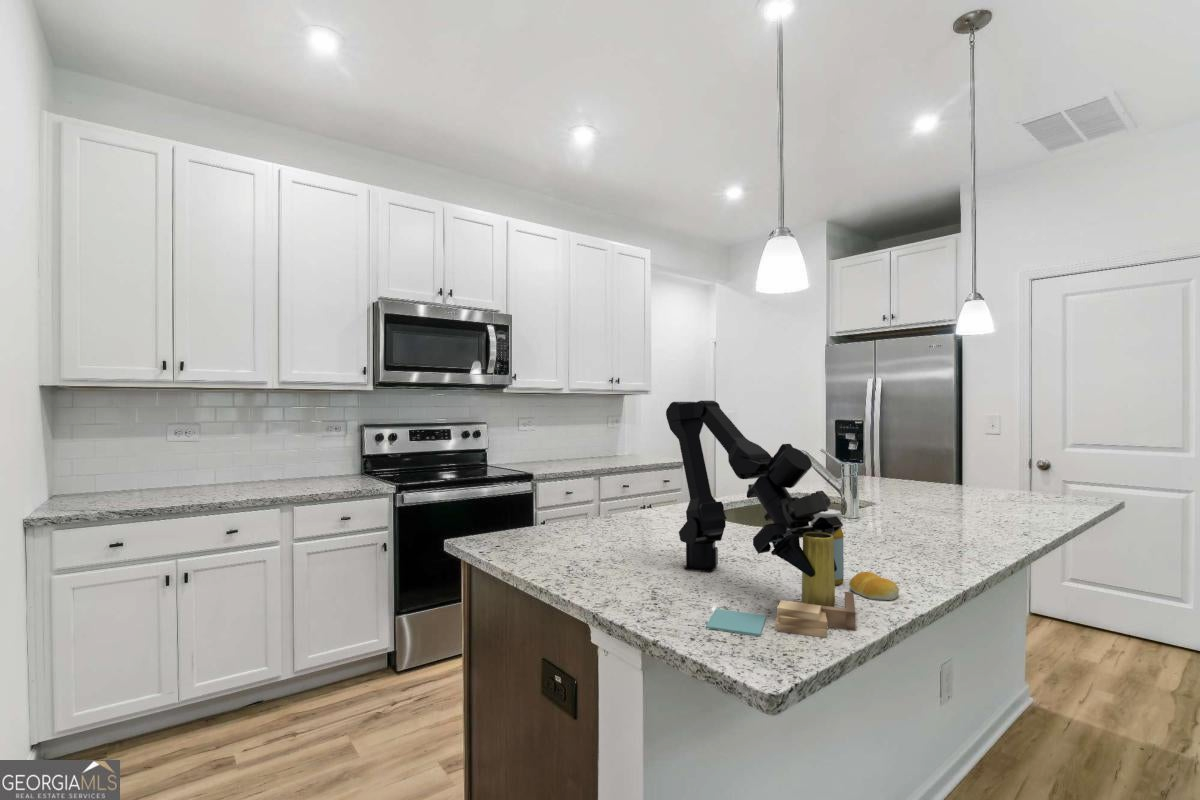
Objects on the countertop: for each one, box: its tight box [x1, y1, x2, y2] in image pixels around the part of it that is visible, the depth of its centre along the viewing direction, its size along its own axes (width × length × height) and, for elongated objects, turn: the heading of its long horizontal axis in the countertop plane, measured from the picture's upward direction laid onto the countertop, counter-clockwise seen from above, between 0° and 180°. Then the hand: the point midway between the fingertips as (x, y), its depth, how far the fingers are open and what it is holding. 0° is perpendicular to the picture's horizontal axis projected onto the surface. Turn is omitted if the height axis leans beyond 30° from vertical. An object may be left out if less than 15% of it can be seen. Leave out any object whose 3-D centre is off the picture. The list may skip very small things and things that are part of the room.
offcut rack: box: [774, 591, 856, 638], centre depth 102 cm, size 12×16×4 cm
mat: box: [705, 608, 767, 637], centre depth 101 cm, size 9×9×1 cm
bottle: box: [809, 508, 845, 586], centre depth 124 cm, size 7×7×15 cm
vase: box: [800, 532, 836, 607], centre depth 105 cm, size 6×6×14 cm
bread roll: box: [849, 571, 900, 601], centre depth 116 cm, size 8×9×4 cm
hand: (824, 573), depth 104 cm, fingers closed on vase, 5 cm apart
